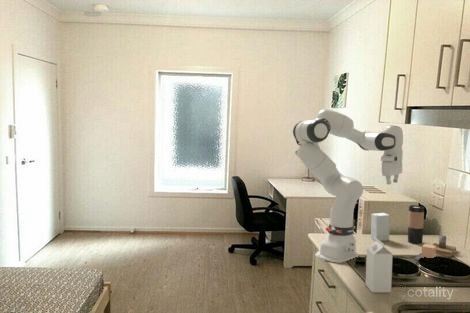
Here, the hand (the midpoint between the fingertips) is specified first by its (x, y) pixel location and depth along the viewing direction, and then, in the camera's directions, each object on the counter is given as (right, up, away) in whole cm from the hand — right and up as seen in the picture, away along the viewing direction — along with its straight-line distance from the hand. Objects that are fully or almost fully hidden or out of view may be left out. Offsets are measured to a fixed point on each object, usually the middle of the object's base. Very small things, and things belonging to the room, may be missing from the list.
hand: (392, 183), depth 188 cm
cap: (+11, -35, -15) cm, 39 cm away
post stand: (+24, -35, -4) cm, 42 cm away
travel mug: (+18, -34, +12) cm, 40 cm away
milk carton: (-26, -38, -48) cm, 67 cm away
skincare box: (0, -33, +16) cm, 37 cm away
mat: (+11, -35, -15) cm, 40 cm away
